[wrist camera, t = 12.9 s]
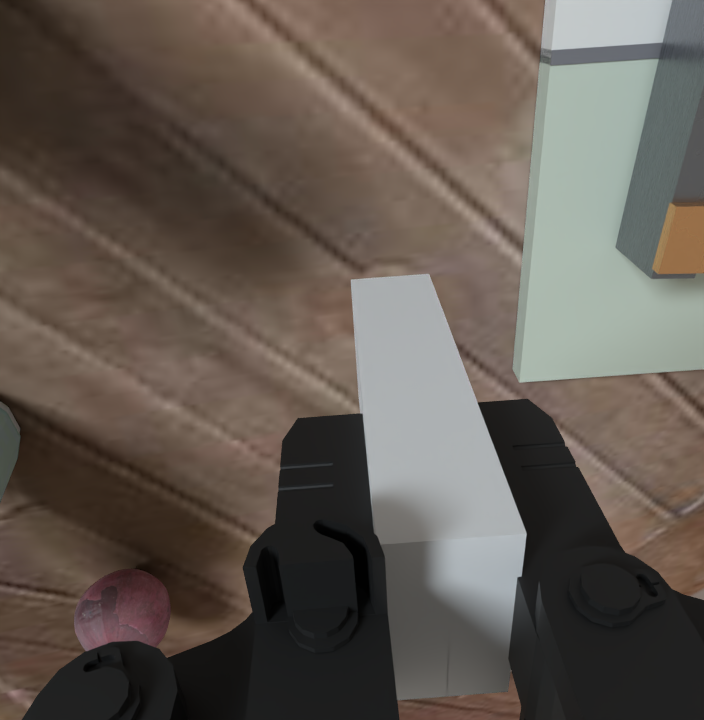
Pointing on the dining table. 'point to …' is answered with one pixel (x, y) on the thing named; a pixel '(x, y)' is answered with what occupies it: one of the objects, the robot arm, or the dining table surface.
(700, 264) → the bar
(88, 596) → the vegetable
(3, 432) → the disposable coffee cup
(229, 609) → the dining table surface
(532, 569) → the robot arm
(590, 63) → the door plate
